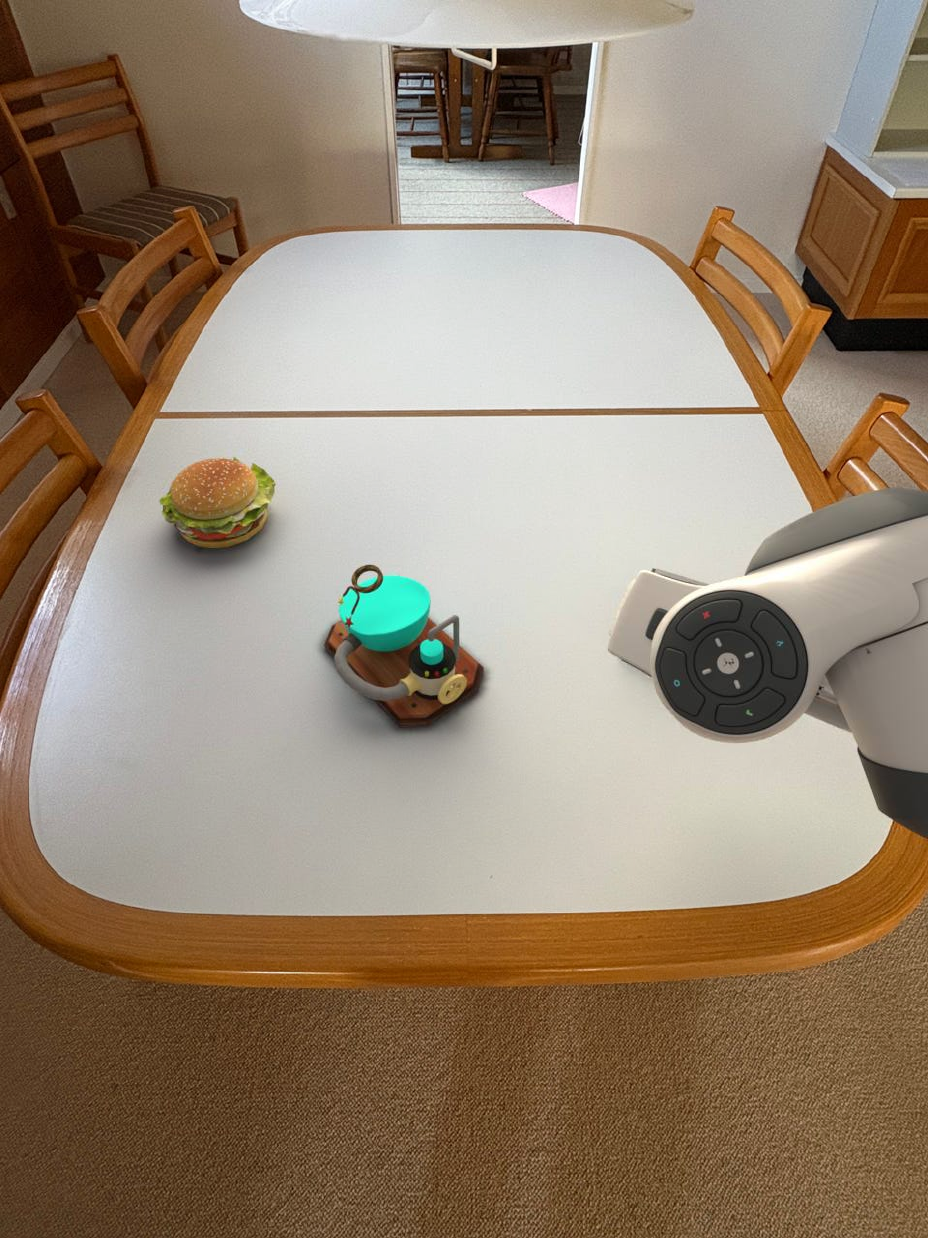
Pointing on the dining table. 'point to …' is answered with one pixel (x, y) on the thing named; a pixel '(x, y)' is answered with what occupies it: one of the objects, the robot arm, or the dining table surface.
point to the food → (218, 502)
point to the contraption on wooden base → (400, 650)
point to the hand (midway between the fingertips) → (748, 657)
